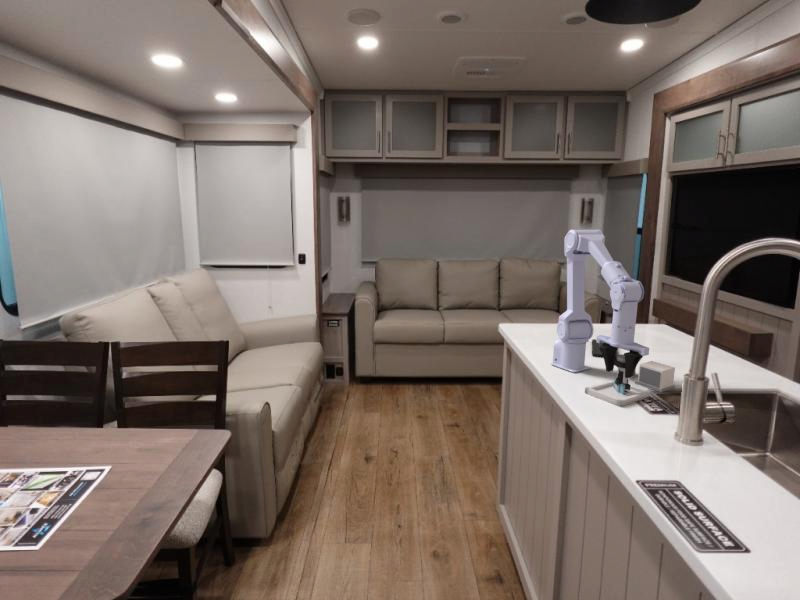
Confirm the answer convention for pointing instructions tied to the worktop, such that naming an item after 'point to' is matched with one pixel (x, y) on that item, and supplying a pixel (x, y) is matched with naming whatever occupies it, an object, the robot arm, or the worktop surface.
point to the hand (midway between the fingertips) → (618, 374)
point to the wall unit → (656, 376)
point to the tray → (616, 393)
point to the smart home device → (597, 349)
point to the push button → (621, 376)
